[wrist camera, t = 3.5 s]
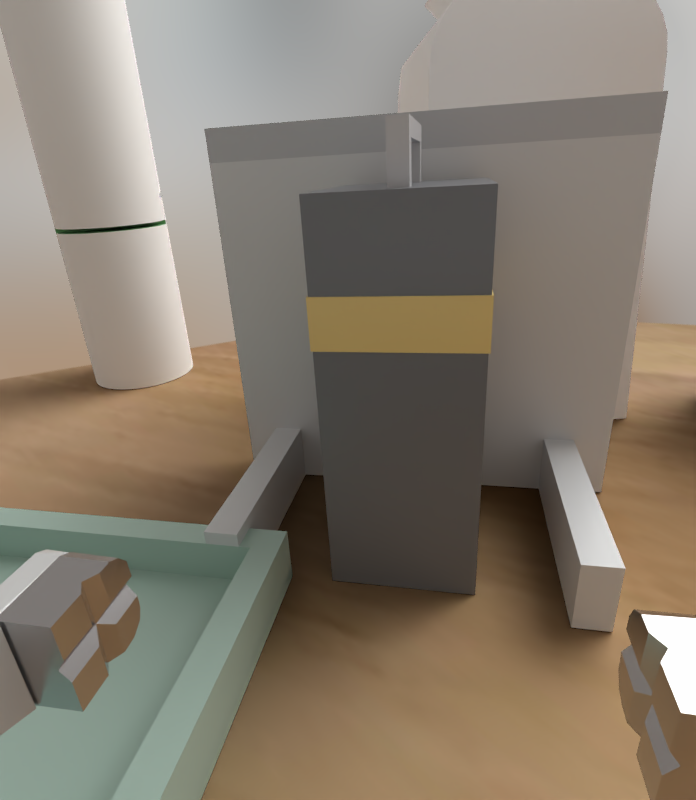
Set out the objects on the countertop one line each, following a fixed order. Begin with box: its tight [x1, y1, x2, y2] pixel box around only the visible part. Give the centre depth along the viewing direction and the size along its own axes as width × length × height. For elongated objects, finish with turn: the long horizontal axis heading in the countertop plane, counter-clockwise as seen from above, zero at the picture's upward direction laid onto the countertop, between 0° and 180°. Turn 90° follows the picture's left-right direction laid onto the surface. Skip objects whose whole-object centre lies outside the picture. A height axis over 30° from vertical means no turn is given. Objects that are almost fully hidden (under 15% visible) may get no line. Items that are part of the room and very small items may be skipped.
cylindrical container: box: [0, 0, 193, 389], centre depth 36 cm, size 7×7×25 cm
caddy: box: [299, 114, 498, 595], centre depth 18 cm, size 5×6×15 cm
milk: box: [398, 0, 667, 419], centre depth 29 cm, size 12×12×26 cm
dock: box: [204, 91, 668, 632], centre depth 18 cm, size 16×9×15 cm, turn 79°
